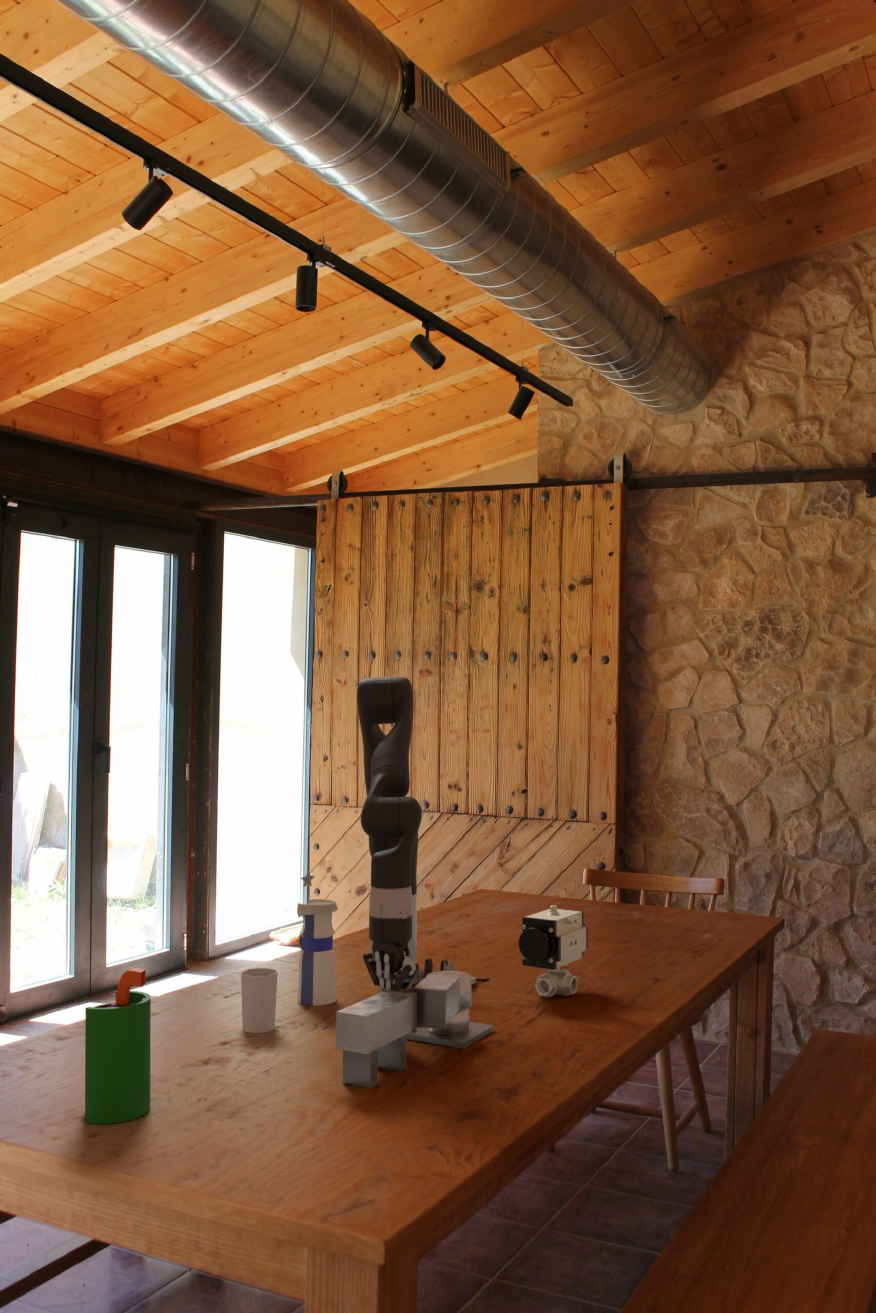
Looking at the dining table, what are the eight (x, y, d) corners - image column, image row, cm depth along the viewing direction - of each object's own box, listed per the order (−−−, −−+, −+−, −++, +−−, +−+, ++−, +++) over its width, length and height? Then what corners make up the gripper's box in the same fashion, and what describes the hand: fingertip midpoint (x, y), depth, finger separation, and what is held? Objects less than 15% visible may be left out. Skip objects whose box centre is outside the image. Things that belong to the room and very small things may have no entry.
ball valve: (555, 1006, 213) (555, 914, 214) (517, 1000, 217) (517, 910, 218) (594, 987, 228) (593, 901, 229) (557, 982, 232) (557, 897, 233)
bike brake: (458, 998, 216) (489, 990, 235) (459, 962, 218) (490, 958, 236) (395, 992, 221) (430, 985, 239) (396, 958, 222) (431, 953, 241)
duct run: (368, 1091, 164) (369, 1014, 165) (334, 1085, 167) (334, 1009, 168) (416, 1064, 177) (417, 992, 178) (383, 1058, 180) (384, 988, 181)
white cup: (263, 1020, 202) (263, 966, 202) (284, 1028, 197) (285, 972, 198) (232, 1027, 197) (233, 971, 198) (253, 1035, 193) (254, 978, 193)
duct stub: (402, 1038, 191) (402, 1009, 191) (434, 1021, 202) (435, 994, 202) (463, 1048, 186) (463, 1018, 186) (493, 1030, 196) (493, 1002, 196)
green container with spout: (93, 1099, 160) (96, 961, 161) (155, 1097, 161) (158, 960, 162) (76, 1125, 150) (80, 977, 151) (143, 1123, 151) (145, 976, 152)
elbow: (432, 997, 199) (433, 963, 199) (475, 1000, 197) (475, 965, 197) (403, 1025, 181) (403, 987, 181) (450, 1029, 179) (450, 991, 179)
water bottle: (285, 1002, 215) (287, 874, 216) (310, 993, 222) (311, 869, 224) (320, 1008, 211) (321, 877, 212) (344, 998, 219) (345, 872, 220)
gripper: (350, 909, 192) (349, 1009, 191) (398, 920, 182) (398, 1025, 181) (383, 904, 197) (382, 1001, 196) (432, 914, 187) (431, 1017, 187)
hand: (390, 1013), depth 189 cm, fingers closed
